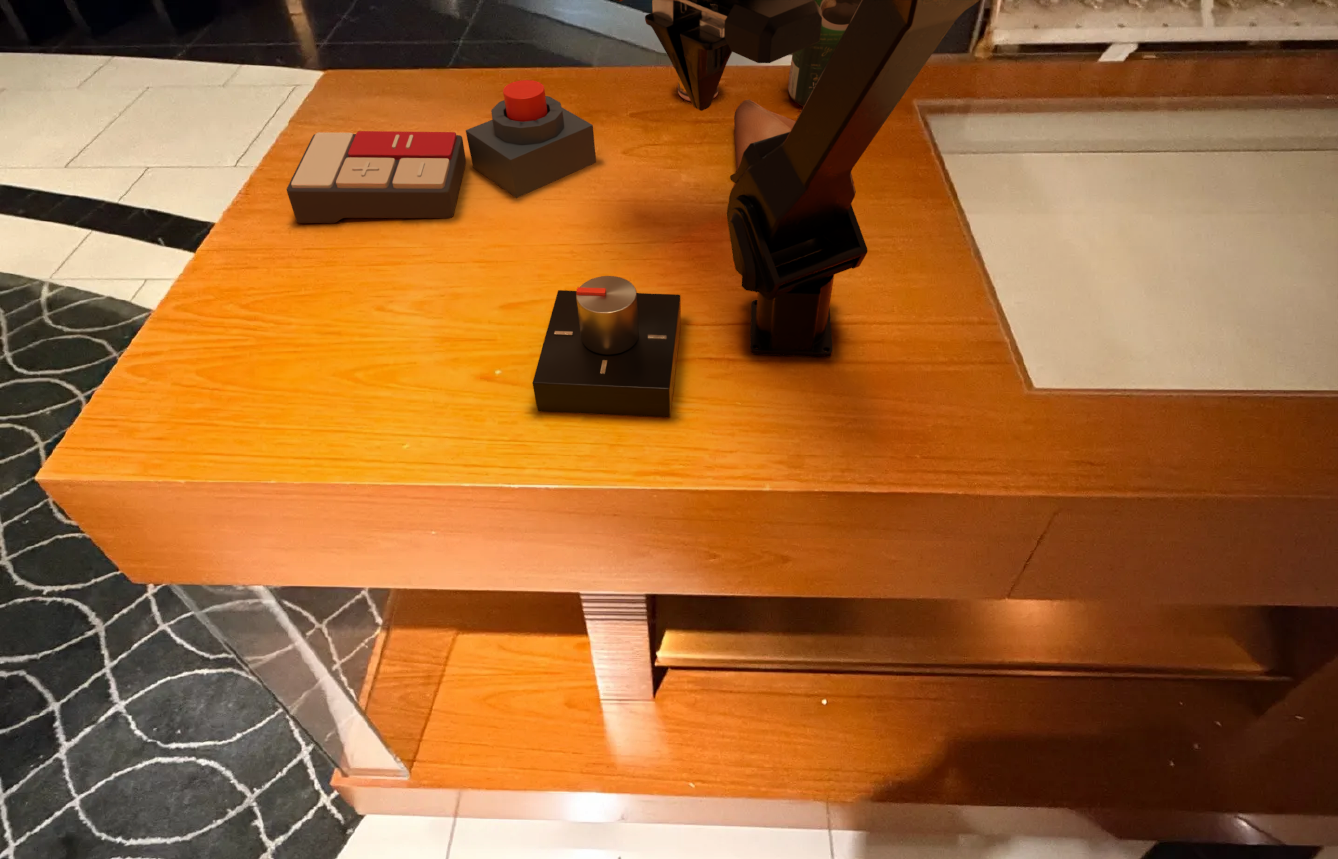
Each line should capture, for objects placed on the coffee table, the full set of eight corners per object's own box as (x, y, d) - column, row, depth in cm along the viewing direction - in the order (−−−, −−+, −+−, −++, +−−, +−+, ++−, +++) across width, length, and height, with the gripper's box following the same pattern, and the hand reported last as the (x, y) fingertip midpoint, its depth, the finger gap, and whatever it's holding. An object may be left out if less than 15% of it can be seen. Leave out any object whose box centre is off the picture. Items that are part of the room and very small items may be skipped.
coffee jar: (867, 81, 101) (894, -98, 87) (875, 112, 96) (905, -73, 82) (784, 80, 101) (799, -98, 88) (787, 112, 96) (803, -72, 82)
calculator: (447, 184, 80) (282, 183, 79) (454, 224, 83) (295, 223, 82) (461, 127, 87) (311, 125, 86) (467, 166, 90) (322, 164, 90)
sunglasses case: (830, 215, 81) (799, 160, 77) (763, 248, 83) (730, 196, 79) (811, 123, 93) (783, 71, 89) (753, 155, 96) (724, 105, 92)
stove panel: (670, 418, 64) (669, 387, 61) (537, 411, 64) (531, 381, 62) (680, 323, 71) (680, 292, 69) (561, 318, 72) (557, 288, 69)
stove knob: (641, 318, 67) (639, 273, 64) (635, 355, 64) (633, 310, 61) (585, 316, 67) (580, 271, 64) (577, 353, 64) (571, 308, 61)
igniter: (596, 163, 89) (591, 107, 85) (516, 198, 85) (507, 142, 80) (551, 135, 93) (544, 81, 89) (472, 168, 89) (461, 113, 84)
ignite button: (555, 114, 85) (552, 89, 83) (522, 128, 83) (518, 102, 81) (532, 100, 87) (528, 76, 85) (499, 113, 85) (494, 88, 83)
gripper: (889, -109, 57) (856, 115, 68) (698, -160, 67) (697, 44, 78) (772, -70, 52) (757, 165, 63) (584, -131, 62) (600, 82, 73)
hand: (701, 108), depth 69 cm, fingers closed
